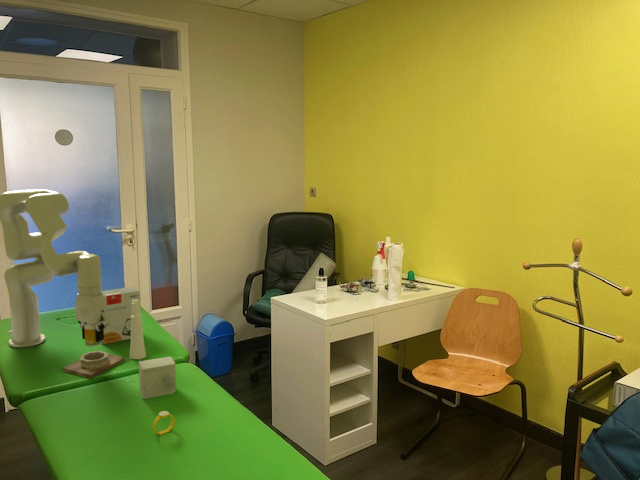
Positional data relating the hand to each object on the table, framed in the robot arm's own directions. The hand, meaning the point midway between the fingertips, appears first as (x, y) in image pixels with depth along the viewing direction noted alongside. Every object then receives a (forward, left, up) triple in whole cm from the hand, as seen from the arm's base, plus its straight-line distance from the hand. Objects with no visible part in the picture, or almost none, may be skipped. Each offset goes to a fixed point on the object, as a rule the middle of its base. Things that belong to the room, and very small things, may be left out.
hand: (93, 338), depth 186 cm
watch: (+50, -24, -10) cm, 56 cm away
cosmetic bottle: (+8, +13, -10) cm, 18 cm away
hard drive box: (-11, +24, -10) cm, 28 cm away
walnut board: (0, 0, -10) cm, 10 cm away
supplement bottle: (0, 0, -2) cm, 2 cm away
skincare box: (+33, -6, -11) cm, 35 cm away
